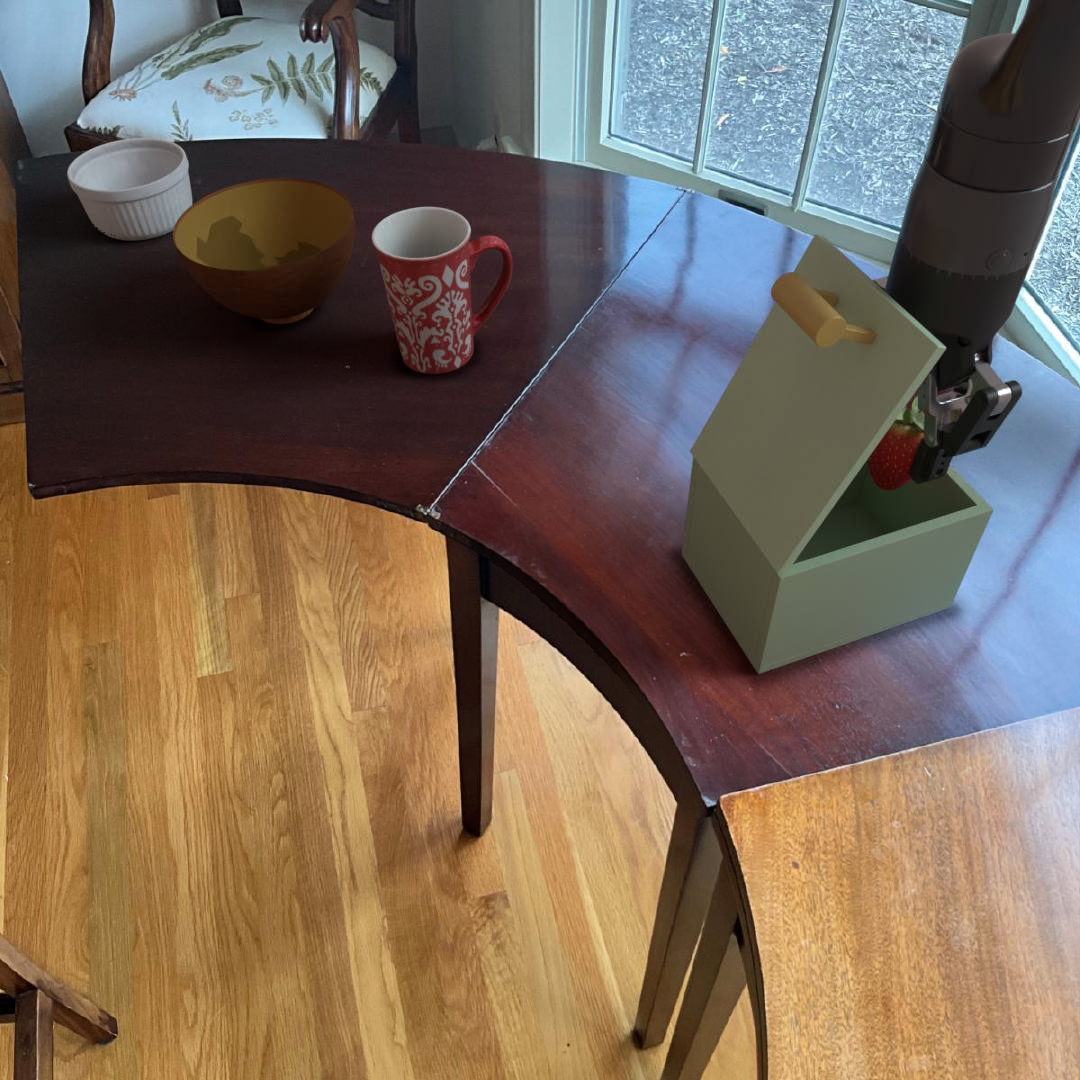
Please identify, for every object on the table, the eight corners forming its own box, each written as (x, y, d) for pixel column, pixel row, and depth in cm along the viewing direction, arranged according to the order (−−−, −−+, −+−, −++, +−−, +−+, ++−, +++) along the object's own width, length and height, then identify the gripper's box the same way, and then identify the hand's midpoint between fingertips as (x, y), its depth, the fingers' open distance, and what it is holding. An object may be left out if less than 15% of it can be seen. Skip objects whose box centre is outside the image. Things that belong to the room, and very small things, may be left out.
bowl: (386, 334, 102) (371, 247, 95) (212, 374, 98) (183, 286, 91) (348, 248, 113) (332, 164, 106) (191, 282, 110) (163, 197, 102)
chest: (858, 499, 84) (888, 400, 76) (950, 608, 76) (994, 509, 68) (681, 554, 81) (692, 456, 73) (758, 674, 73) (780, 578, 65)
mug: (394, 387, 96) (374, 264, 86) (388, 332, 102) (368, 211, 92) (523, 370, 97) (518, 247, 88) (510, 317, 104) (503, 196, 94)
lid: (824, 235, 63) (759, 218, 60) (947, 347, 54) (879, 334, 52) (697, 452, 73) (637, 446, 70) (786, 574, 65) (722, 573, 62)
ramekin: (191, 181, 125) (174, 127, 120) (212, 231, 117) (195, 175, 112) (82, 206, 122) (60, 151, 117) (95, 258, 113) (73, 202, 108)
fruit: (928, 470, 74) (959, 385, 68) (920, 520, 71) (950, 435, 65) (858, 455, 75) (882, 370, 69) (846, 503, 72) (870, 418, 66)
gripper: (1108, 284, 54) (1009, 503, 67) (946, 167, 63) (886, 379, 76) (993, 316, 53) (913, 534, 65) (844, 191, 62) (799, 404, 74)
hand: (899, 450), depth 70 cm, fingers closed on fruit, 5 cm apart
